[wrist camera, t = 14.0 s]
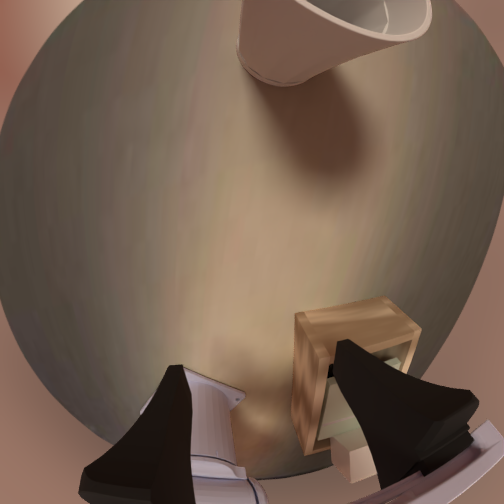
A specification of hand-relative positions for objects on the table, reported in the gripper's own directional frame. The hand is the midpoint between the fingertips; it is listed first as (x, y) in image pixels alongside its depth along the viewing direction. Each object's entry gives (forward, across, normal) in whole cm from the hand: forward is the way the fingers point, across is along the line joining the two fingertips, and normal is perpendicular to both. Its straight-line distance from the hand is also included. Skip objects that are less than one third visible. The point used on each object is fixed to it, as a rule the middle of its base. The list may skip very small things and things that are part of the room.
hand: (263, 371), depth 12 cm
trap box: (+10, -9, +11) cm, 18 cm away
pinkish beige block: (+4, -9, +18) cm, 21 cm away
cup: (+11, -4, -17) cm, 21 cm away
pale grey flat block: (+4, -9, +13) cm, 17 cm away
